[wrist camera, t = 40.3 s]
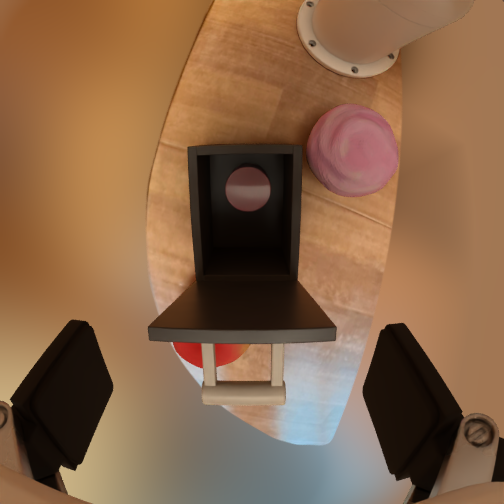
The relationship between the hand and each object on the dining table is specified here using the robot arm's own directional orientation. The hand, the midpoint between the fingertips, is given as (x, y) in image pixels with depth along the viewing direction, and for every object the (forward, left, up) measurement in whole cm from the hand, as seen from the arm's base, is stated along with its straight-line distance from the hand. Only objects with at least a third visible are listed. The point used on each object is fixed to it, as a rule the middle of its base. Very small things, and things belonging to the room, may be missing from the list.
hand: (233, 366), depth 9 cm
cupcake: (-6, +10, -27) cm, 29 cm away
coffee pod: (-2, 0, -26) cm, 26 cm away
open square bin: (0, 0, -26) cm, 26 cm away
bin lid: (+4, 0, -11) cm, 12 cm away
